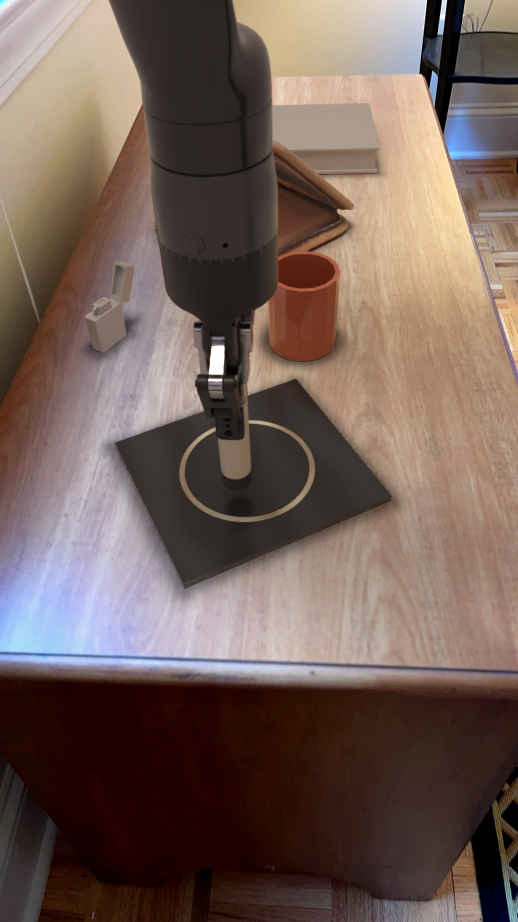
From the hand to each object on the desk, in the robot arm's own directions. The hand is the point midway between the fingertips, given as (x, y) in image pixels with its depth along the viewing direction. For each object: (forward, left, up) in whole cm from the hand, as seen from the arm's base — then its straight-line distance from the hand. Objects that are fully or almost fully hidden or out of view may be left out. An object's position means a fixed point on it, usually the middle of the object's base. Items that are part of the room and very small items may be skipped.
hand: (232, 421), depth 55 cm
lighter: (+2, -28, -10) cm, 30 cm away
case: (-22, -42, -10) cm, 49 cm away
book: (-39, -61, -10) cm, 73 cm away
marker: (0, 0, -7) cm, 7 cm away
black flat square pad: (-2, -2, -10) cm, 10 cm away
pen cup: (-16, -17, -10) cm, 26 cm away
